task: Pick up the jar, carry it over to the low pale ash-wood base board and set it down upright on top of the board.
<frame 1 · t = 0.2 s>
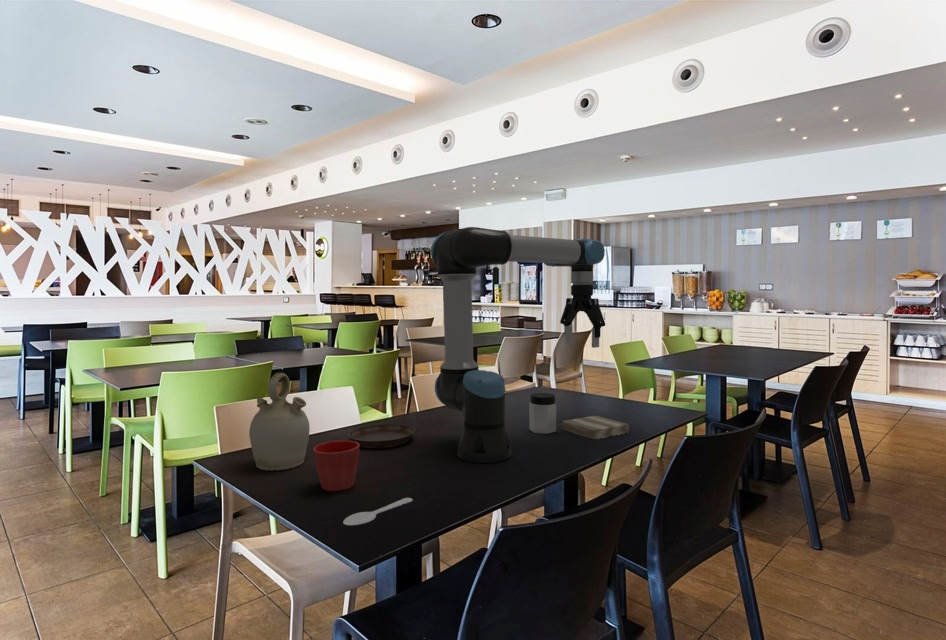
hand: (581, 345, 192), 27 cm above the table, tool pointing down, fingers open, 13 cm apart
spoon: (379, 513, 118), on the table
jar: (542, 431, 184), on the table
flower pot: (337, 486, 134), on the table
base board: (595, 431, 183), on the table
plant saucer: (381, 442, 173), on the table
jug: (280, 464, 151), on the table
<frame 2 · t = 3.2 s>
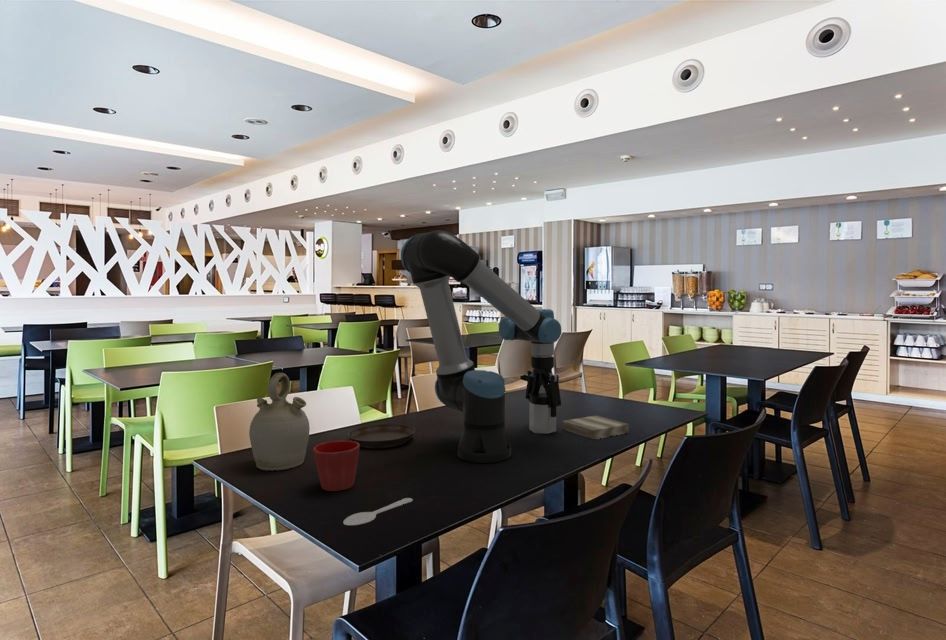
hand: (542, 423, 184), 2 cm above the table, tool pointing down, fingers closed on jar, 9 cm apart
jar: (542, 431, 184), on the table, touching gripper
everything else where it was.
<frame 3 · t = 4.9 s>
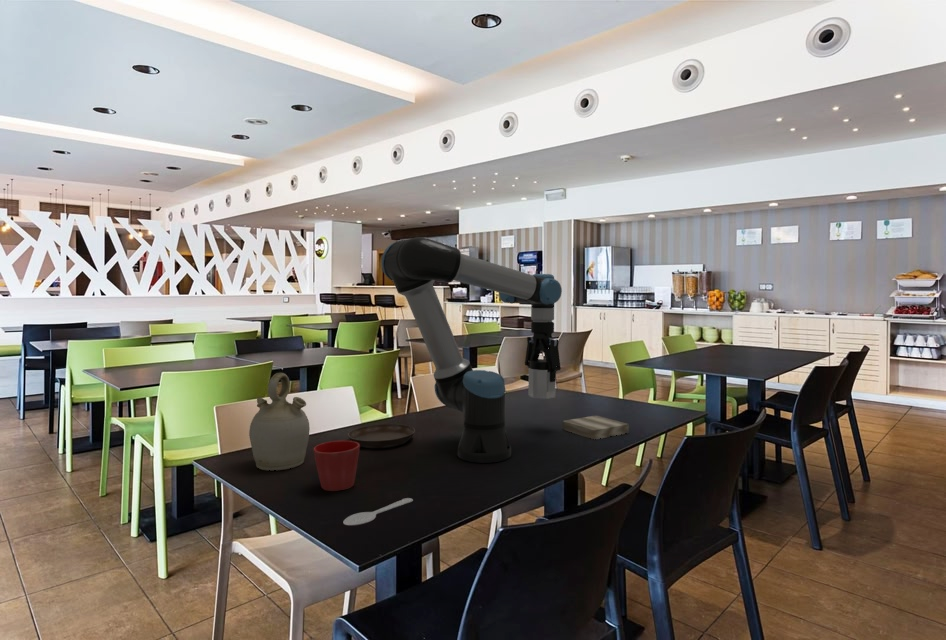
hand: (541, 389, 183), 14 cm above the table, tool pointing down, fingers closed on jar, 9 cm apart
jar: (541, 397, 184), point 11 cm above the table, touching gripper
everything else where it was.
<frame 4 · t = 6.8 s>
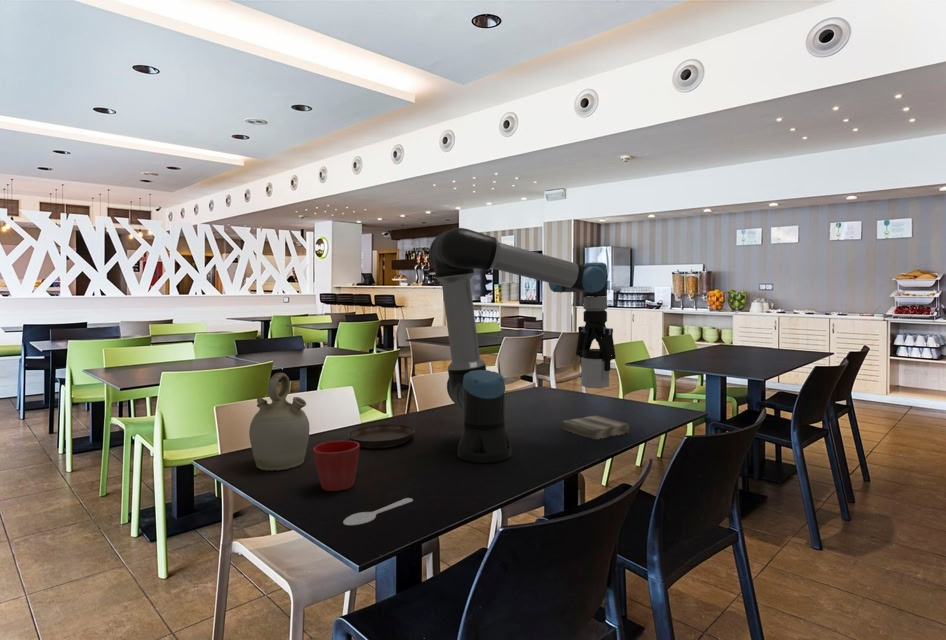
hand: (595, 379, 182), 17 cm above the table, tool pointing down, fingers closed on jar, 9 cm apart
jar: (595, 386, 182), point 15 cm above the table, touching gripper
everything else where it was.
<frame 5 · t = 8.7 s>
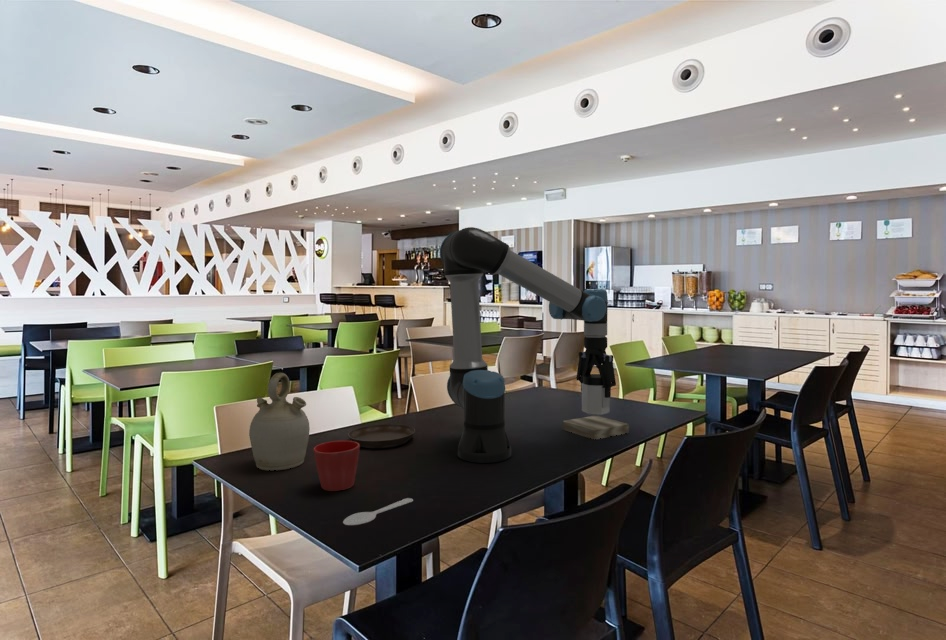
hand: (595, 404, 182), 9 cm above the table, tool pointing down, fingers closed on jar, 9 cm apart
jar: (595, 412, 183), point 6 cm above the table, touching gripper
everything else where it was.
when the fingers open (8 cm above the table, at t = 10.2 s): jar drops 2 cm, resting on base board.
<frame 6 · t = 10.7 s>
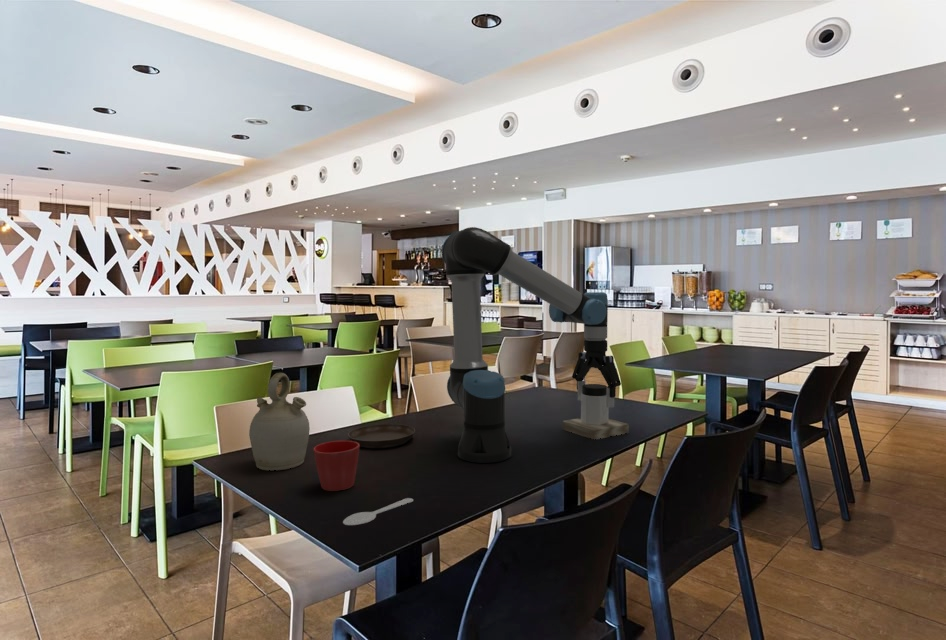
hand: (595, 403, 182), 9 cm above the table, tool pointing down, fingers open, 13 cm apart
jar: (594, 422, 183), point 3 cm above the table, touching base board
everything else where it was.
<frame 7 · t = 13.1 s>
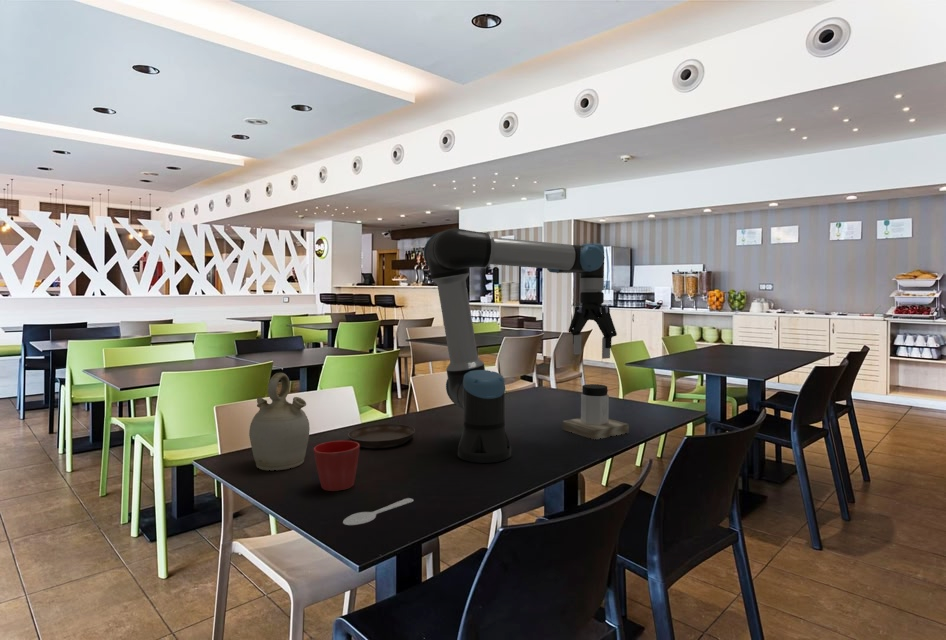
hand: (591, 356, 182), 25 cm above the table, tool pointing down, fingers open, 13 cm apart
nothing on the table moved.
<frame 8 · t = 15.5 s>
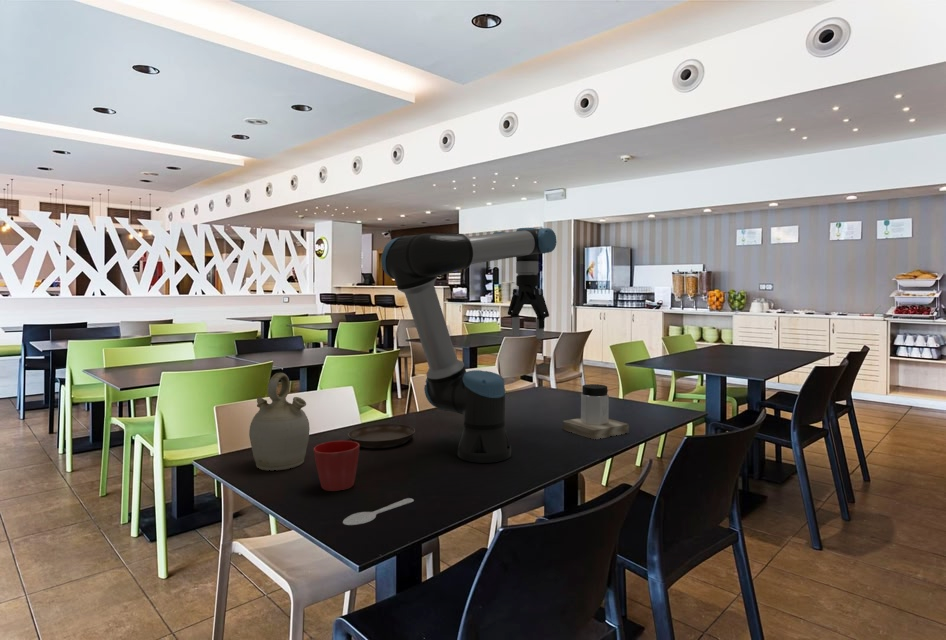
hand: (527, 337, 188), 31 cm above the table, tool pointing down, fingers open, 13 cm apart
nothing on the table moved.
at the end: jar inside the target area on the base board (0.3 cm from its centre), point 2.8 cm above the base board's base; jar tilted 0°; the gripper is holding nothing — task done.
